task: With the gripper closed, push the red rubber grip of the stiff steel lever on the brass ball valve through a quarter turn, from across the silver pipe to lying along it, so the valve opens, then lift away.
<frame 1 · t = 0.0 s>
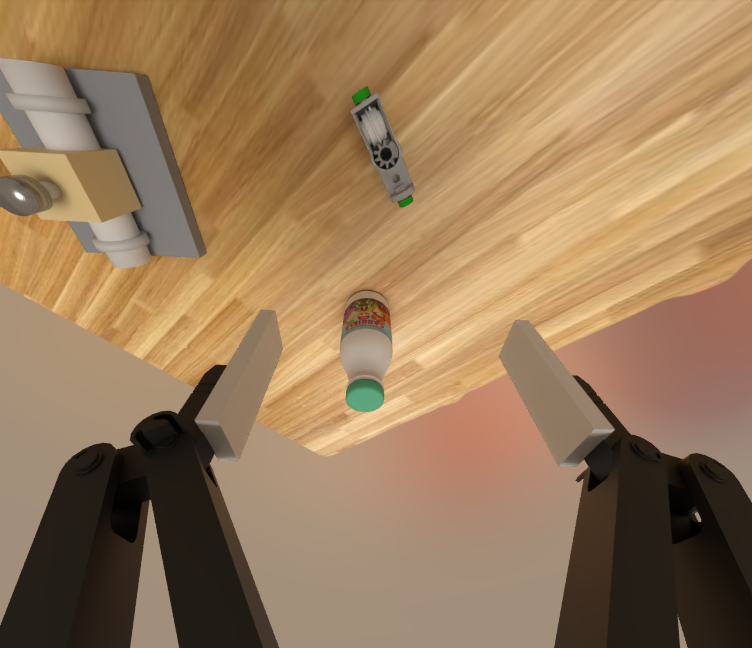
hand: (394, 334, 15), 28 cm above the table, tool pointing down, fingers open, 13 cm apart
mechanical component: (382, 146, 33), on the table
milk bottle: (367, 307, 48), on the table
valve manifold: (118, 175, 35), on the table
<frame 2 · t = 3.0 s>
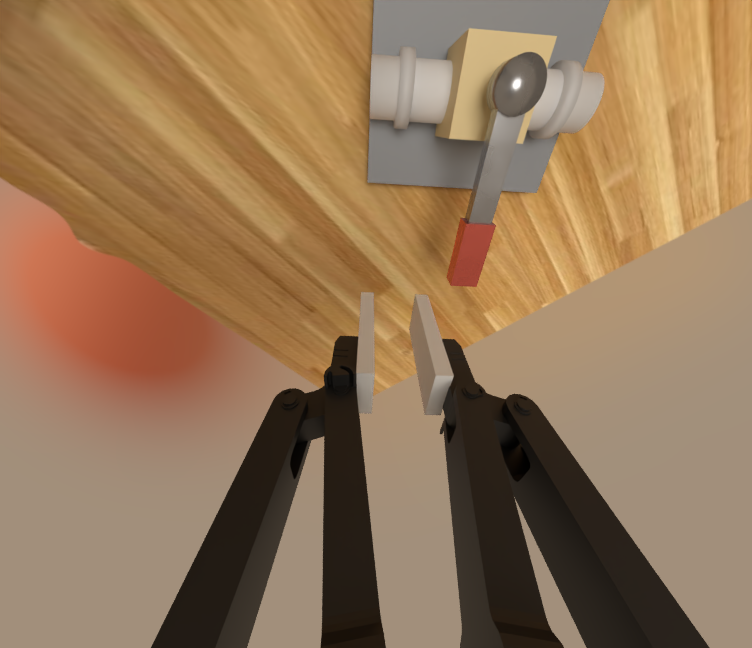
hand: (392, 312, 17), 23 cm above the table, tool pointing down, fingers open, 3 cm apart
valve lever: (485, 193, 22), point 12 cm above the table, hinge at 0.0°
valve manifold: (466, 99, 28), on the table
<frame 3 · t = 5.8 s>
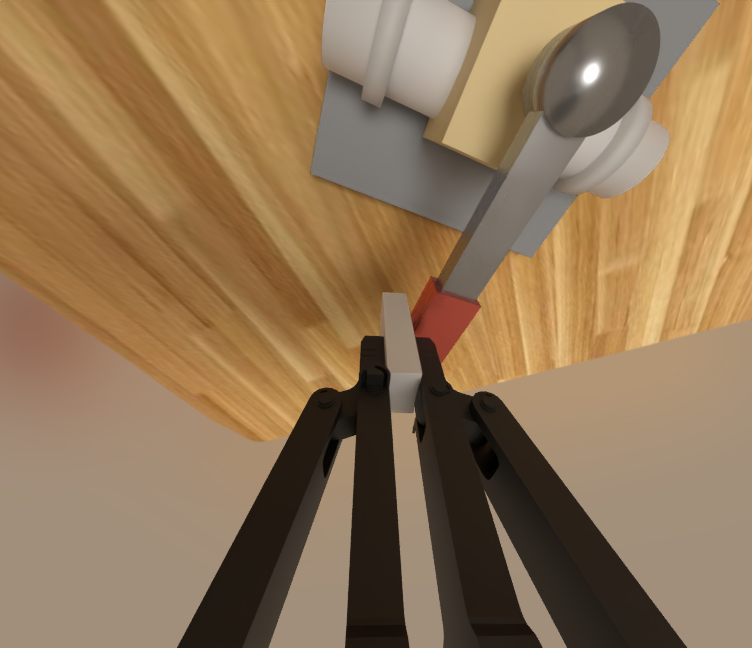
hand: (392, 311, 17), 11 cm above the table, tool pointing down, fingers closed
valve lever: (478, 252, 13), point 12 cm above the table, hinge at 0.1°, touching gripper
valve manifold: (477, 102, 19), on the table
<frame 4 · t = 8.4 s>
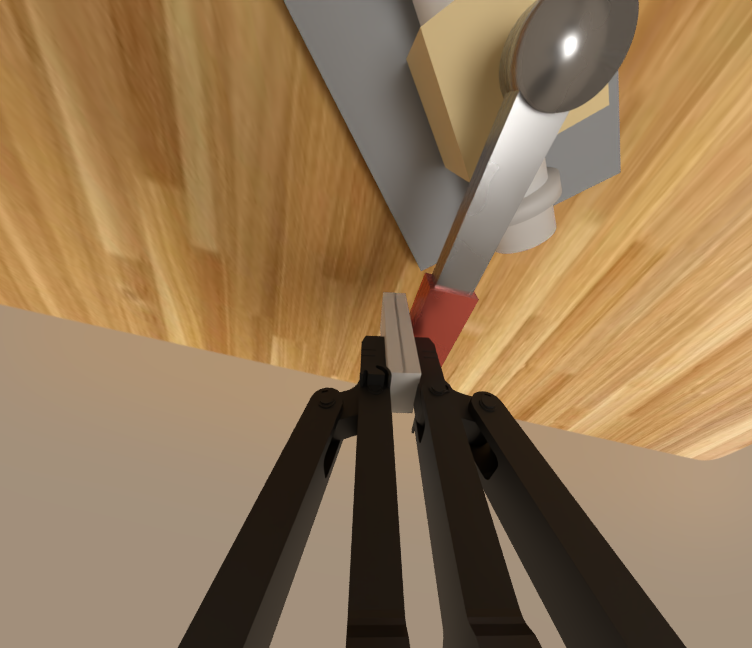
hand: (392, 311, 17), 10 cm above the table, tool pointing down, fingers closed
valve lever: (470, 244, 13), point 12 cm above the table, hinge at 46.5°, touching gripper
valve manifold: (464, 90, 19), on the table
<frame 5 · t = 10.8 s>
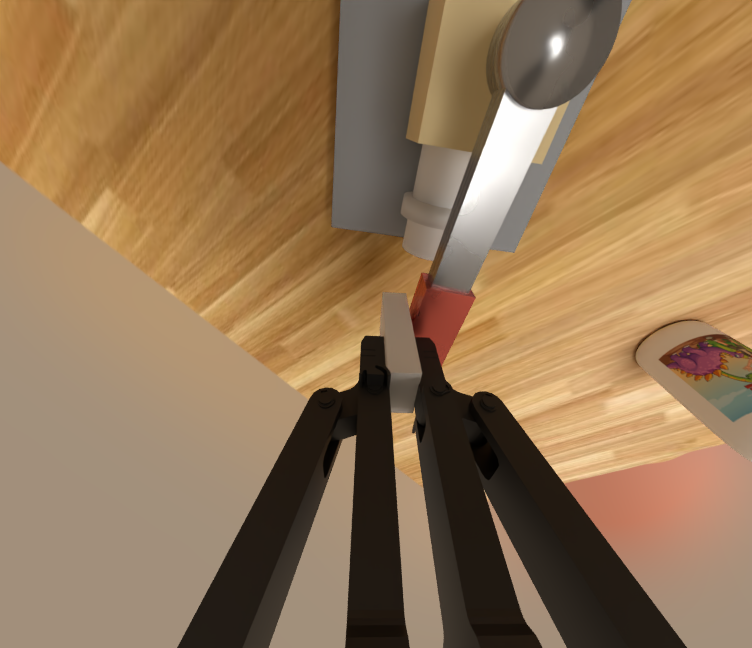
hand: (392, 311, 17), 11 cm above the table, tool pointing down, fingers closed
milk bottle: (667, 342, 33), on the table
valve lever: (465, 242, 13), point 12 cm above the table, hinge at 86.1°, touching gripper
valve manifold: (456, 89, 19), on the table
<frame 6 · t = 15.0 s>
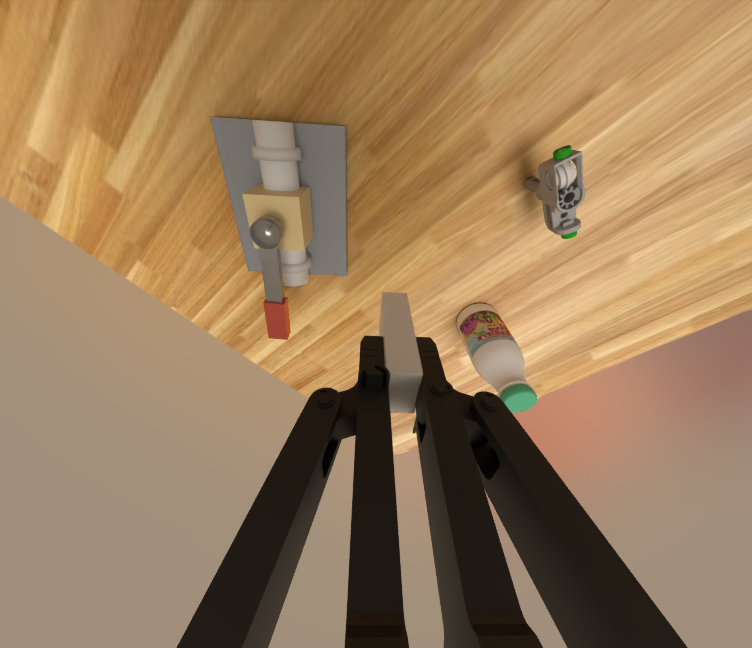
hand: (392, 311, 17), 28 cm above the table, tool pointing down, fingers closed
mechanical component: (528, 182, 38), on the table
milk bottle: (475, 317, 53), on the table
valve lever: (273, 284, 34), point 12 cm above the table, hinge at 86.3°
valve manifold: (292, 205, 40), on the table
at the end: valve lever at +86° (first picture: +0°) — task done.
